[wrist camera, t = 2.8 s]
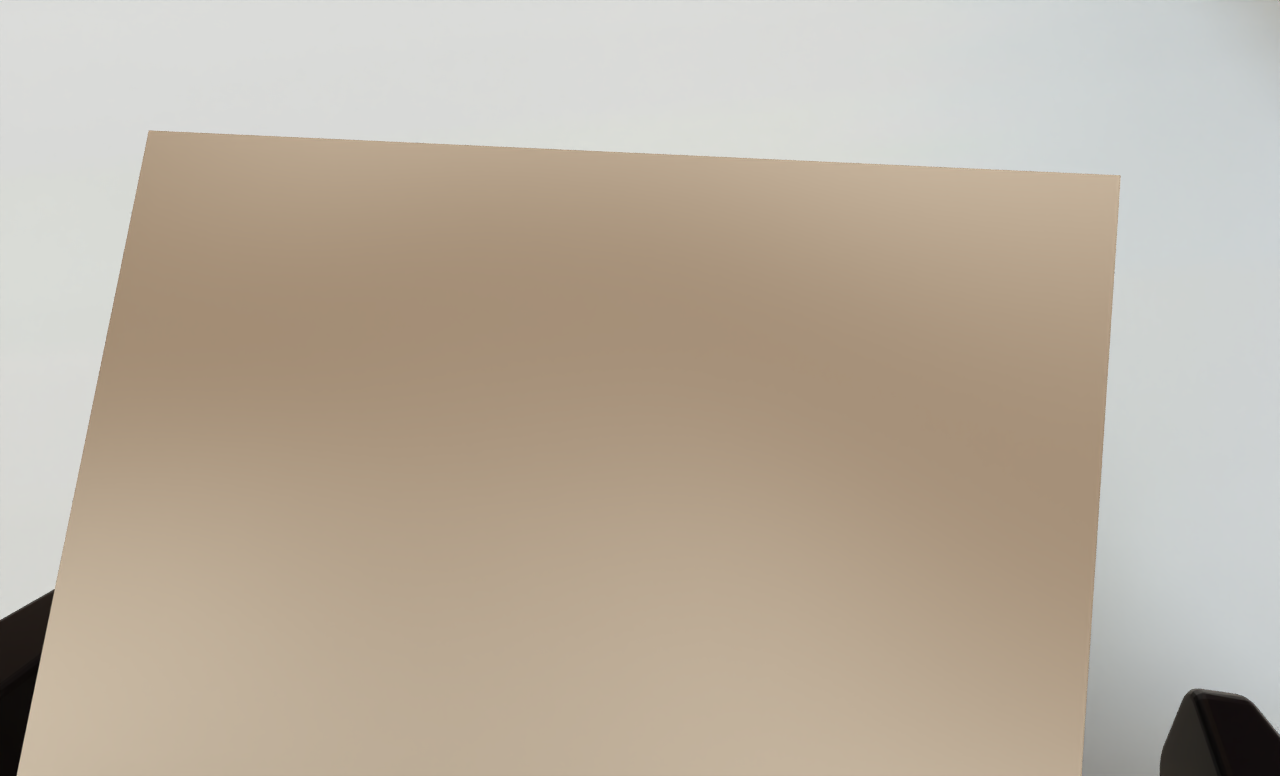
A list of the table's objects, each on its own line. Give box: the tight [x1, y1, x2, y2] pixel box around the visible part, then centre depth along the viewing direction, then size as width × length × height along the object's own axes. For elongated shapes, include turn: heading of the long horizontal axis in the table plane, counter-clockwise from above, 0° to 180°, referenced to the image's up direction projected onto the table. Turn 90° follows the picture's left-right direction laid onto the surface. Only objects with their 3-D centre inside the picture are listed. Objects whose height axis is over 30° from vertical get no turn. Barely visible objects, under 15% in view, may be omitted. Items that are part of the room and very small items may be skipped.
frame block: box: [17, 131, 1121, 776], centre depth 12 cm, size 5×6×12 cm
